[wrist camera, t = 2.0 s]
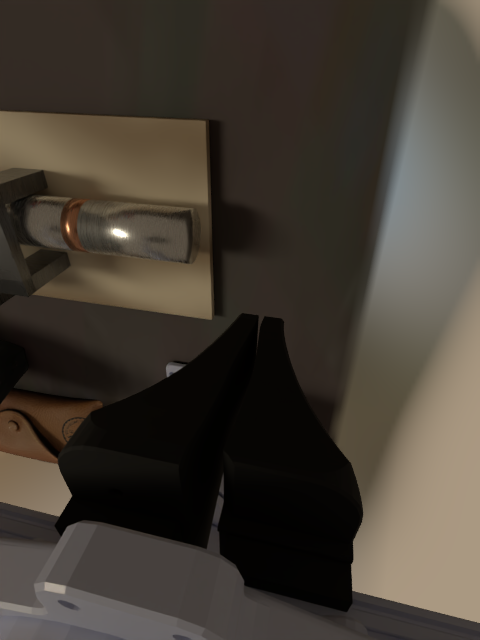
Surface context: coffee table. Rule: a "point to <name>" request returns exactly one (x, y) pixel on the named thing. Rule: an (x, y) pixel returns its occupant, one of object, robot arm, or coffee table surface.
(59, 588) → the robot arm
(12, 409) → the sunglasses case
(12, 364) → the ceramic cat
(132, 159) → the base board
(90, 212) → the tube
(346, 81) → the coffee table surface
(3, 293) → the grey slotted rack
